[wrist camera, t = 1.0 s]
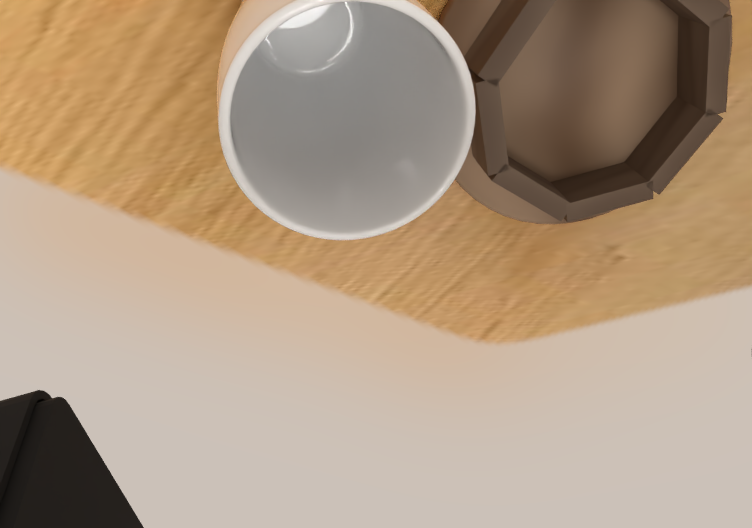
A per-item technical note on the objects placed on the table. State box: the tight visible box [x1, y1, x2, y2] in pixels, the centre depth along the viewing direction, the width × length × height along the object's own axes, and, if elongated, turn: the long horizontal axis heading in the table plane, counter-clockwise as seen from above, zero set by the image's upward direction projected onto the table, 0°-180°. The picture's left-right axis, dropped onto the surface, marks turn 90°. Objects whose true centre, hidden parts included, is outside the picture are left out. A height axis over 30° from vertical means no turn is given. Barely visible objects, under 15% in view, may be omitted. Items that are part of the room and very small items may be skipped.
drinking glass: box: [217, 0, 476, 240], centre depth 24 cm, size 7×7×15 cm
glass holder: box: [438, 0, 732, 224], centre depth 33 cm, size 15×15×4 cm
